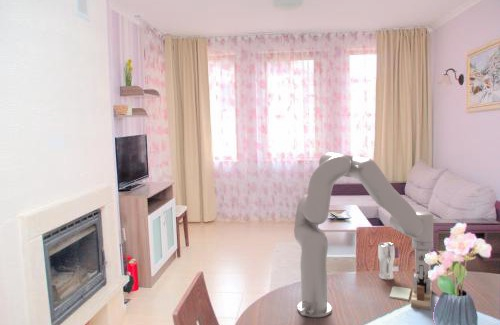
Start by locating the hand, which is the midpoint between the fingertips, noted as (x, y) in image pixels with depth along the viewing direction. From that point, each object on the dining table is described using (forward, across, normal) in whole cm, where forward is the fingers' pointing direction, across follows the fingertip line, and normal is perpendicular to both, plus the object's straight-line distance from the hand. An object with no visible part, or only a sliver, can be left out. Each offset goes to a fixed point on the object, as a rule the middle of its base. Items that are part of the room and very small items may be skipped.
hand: (422, 289), depth 151 cm
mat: (+4, +1, +8) cm, 9 cm away
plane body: (+4, 0, 0) cm, 4 cm away
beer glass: (+4, +16, +16) cm, 23 cm away
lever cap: (+1, 0, 0) cm, 1 cm away
